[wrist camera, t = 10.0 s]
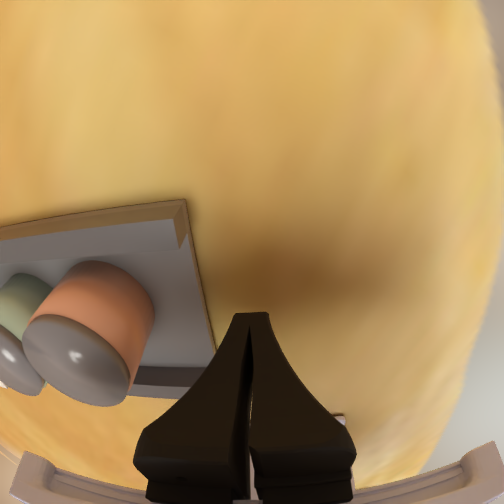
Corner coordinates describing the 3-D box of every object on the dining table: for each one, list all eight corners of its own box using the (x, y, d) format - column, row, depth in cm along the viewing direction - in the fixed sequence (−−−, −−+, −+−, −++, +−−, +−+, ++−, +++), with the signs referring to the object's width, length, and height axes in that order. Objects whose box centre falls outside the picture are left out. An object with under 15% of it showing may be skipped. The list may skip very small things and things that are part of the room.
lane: (185, 199, 12) (152, 253, 8) (221, 372, 17) (214, 437, 13) (-57, 240, 13) (-95, 272, 9) (0, 352, 18) (-23, 389, 14)
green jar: (52, 271, 13) (6, 327, 9) (88, 346, 16) (59, 404, 12) (-5, 274, 14) (-47, 319, 10) (29, 340, 16) (0, 387, 12)
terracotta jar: (52, 256, 13) (2, 312, 9) (147, 264, 13) (110, 334, 9) (78, 335, 15) (47, 393, 12) (161, 348, 15) (141, 416, 12)
